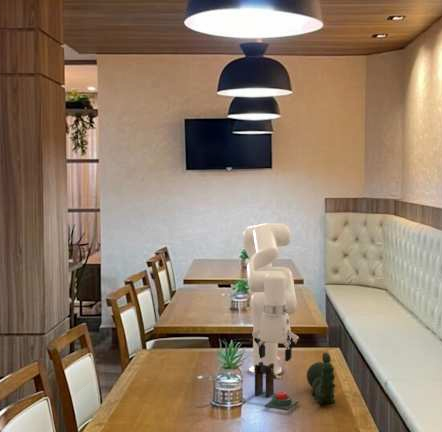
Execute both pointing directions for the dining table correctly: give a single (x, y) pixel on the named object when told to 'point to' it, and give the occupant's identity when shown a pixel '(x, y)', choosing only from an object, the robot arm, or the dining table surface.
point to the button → (281, 395)
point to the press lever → (263, 371)
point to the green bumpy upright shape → (322, 380)
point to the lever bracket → (268, 380)
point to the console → (281, 403)
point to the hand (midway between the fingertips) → (275, 358)
